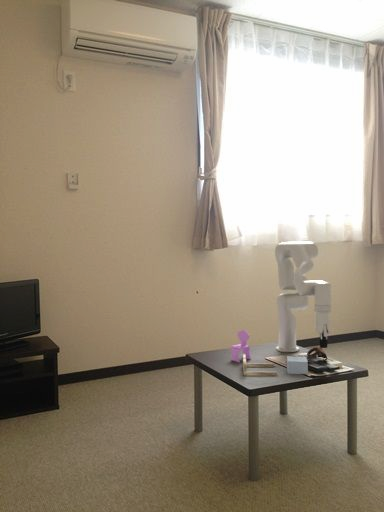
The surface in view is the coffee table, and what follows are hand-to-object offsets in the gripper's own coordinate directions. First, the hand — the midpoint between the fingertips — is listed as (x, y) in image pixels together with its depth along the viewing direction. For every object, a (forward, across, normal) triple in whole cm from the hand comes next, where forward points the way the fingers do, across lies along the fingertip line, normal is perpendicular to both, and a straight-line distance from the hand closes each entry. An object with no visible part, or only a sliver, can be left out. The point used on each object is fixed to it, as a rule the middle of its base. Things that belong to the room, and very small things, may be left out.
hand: (323, 347), depth 222 cm
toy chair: (+11, -20, -38) cm, 44 cm away
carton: (+12, -1, -12) cm, 17 cm away
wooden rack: (+11, -1, -29) cm, 31 cm away
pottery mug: (+11, -18, 0) cm, 21 cm away
